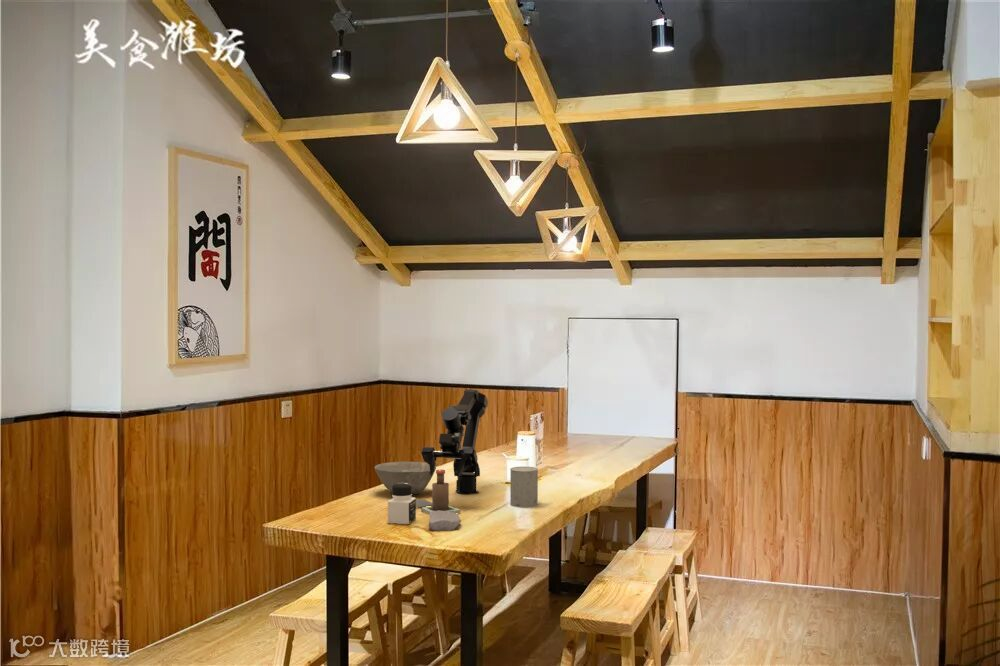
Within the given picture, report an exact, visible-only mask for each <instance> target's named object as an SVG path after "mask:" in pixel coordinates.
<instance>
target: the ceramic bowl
mask: <svg viewBox="0 0 1000 666" xmlns="http://www.w3.org/2000/svg"><path fill="white" fill-rule="evenodd" d="M436 465H437V464H436ZM436 465H435V469H434V473H433V475H432V476H431V474H430V466H429V464H427V462H421V461H402V460H401V461H394V462H393V461H392V462H383V463H380V464H379V463H378V464H376V465H374V471H375V472H376V474H377V476H378V478H379V480H380V482H381V483H382V484H383V486H384V487H385V488H386V489H387V490H388V491H389V492H390V493H392V486H393V485H394V484H397V483H408V484H410V485H411V494H414V495H418V493H419V494H420V493H423V491H424V490H425V489H426V488H427V487H428V485H429V483H430V482H431V479H432V478H433V476H434V474H435V473H436V470H437V466H436Z"/></svg>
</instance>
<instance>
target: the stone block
mask: <svg viewBox="0 0 1000 666" xmlns="http://www.w3.org/2000/svg"><path fill="white" fill-rule="evenodd" d="M428 520H429V521H428V528H429V530H430V531H432V532H435V531H436V532H439V531H443V532H444V531H445V532H446V531H454V530H455V529H456V528H458V526H459V525H460V524H461V522H462V519H461V517H460V515H459V514H455V513H453V512H447V511H441V510H438V511H432V512H430V515H429V518H428Z"/></svg>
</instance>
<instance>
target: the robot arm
mask: <svg viewBox="0 0 1000 666" xmlns="http://www.w3.org/2000/svg"><path fill="white" fill-rule="evenodd" d="M488 407H489V400H488V397H487V396H486V395H485V394H483V393H482V392H480V391H479V390H477V389H464V391H463V395H462V397H461V398H460V400H459V402H458V403H457V405H449V406H448V407H447V408H445V409H443V411H442V412H441V418H442V421H443V425H444V428H445V429H446V433H440V434H439V439H438V444H440V445H439V448H440V450H441V451H440V450H436V449H435V447H434V446H423V447H422V448H421V451H420V453H421V456H422V459H423V461H424V462H423V463H427V464H429V466H430V474H431V476H432V475H433V476H434V474H435V472H434V469H435V465H437V463H436V462H437V458H444V459H454V460H453V462H452V463H453V464H452V465H453V466H452V467H453V474H454V475H453V476H454V477H457V479H456V480H455V481H456V483H455V484H456V487H455V489H456V490H455V492H456V493H458V492H459V493H458V494H461V493H462V495H469V493H471V494H479V490H477V478H478V477H481V469H480V466H479V462H478V455H477V451H476V449H475V447H476V444H477V442H476V441H477V438H478V437H477V436H478V430H479V424H480V420H481V418H482V417H483V416H484V415H485V414H486V410H487V408H488ZM464 426H465V427H464ZM433 473H434V474H433ZM433 476H432V477H433Z"/></svg>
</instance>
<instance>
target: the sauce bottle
mask: <svg viewBox="0 0 1000 666" xmlns="http://www.w3.org/2000/svg"><path fill="white" fill-rule="evenodd" d="M435 474H436V482H433V483H432V486H431V487H432V488H431V489H432V490H431V491H432V493H431V495H432V496H431V497H432V500H431V502H432V511H438V510H441V511H448V510H449V506H450V505H449V504H450V503H449V501H450V497H449V494H450V493H449V492H450V491H449V490H450V488H449V486H450V484H449V483H448V482H445V474H446V470H445V469H436V470H435Z"/></svg>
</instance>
